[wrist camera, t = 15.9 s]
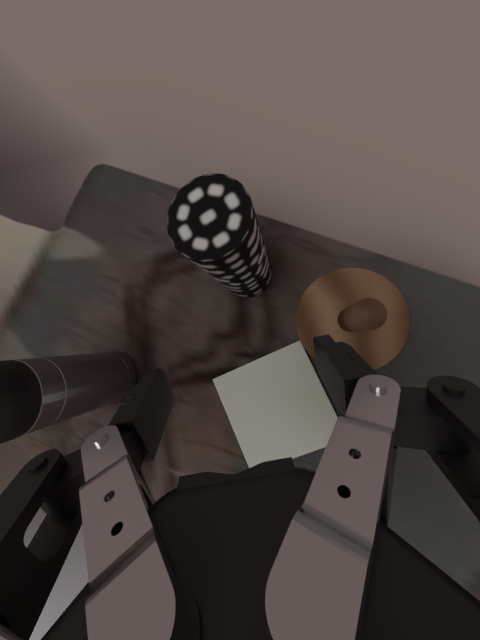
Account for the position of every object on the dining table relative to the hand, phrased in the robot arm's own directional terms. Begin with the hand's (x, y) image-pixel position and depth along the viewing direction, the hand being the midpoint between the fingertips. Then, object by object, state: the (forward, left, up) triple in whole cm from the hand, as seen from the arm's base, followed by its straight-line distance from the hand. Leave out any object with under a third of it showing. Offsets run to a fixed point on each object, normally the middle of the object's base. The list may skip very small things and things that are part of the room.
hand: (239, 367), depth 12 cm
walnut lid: (+11, -1, -23) cm, 25 cm away
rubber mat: (-4, -9, -28) cm, 29 cm away
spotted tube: (+1, +13, -28) cm, 31 cm away
